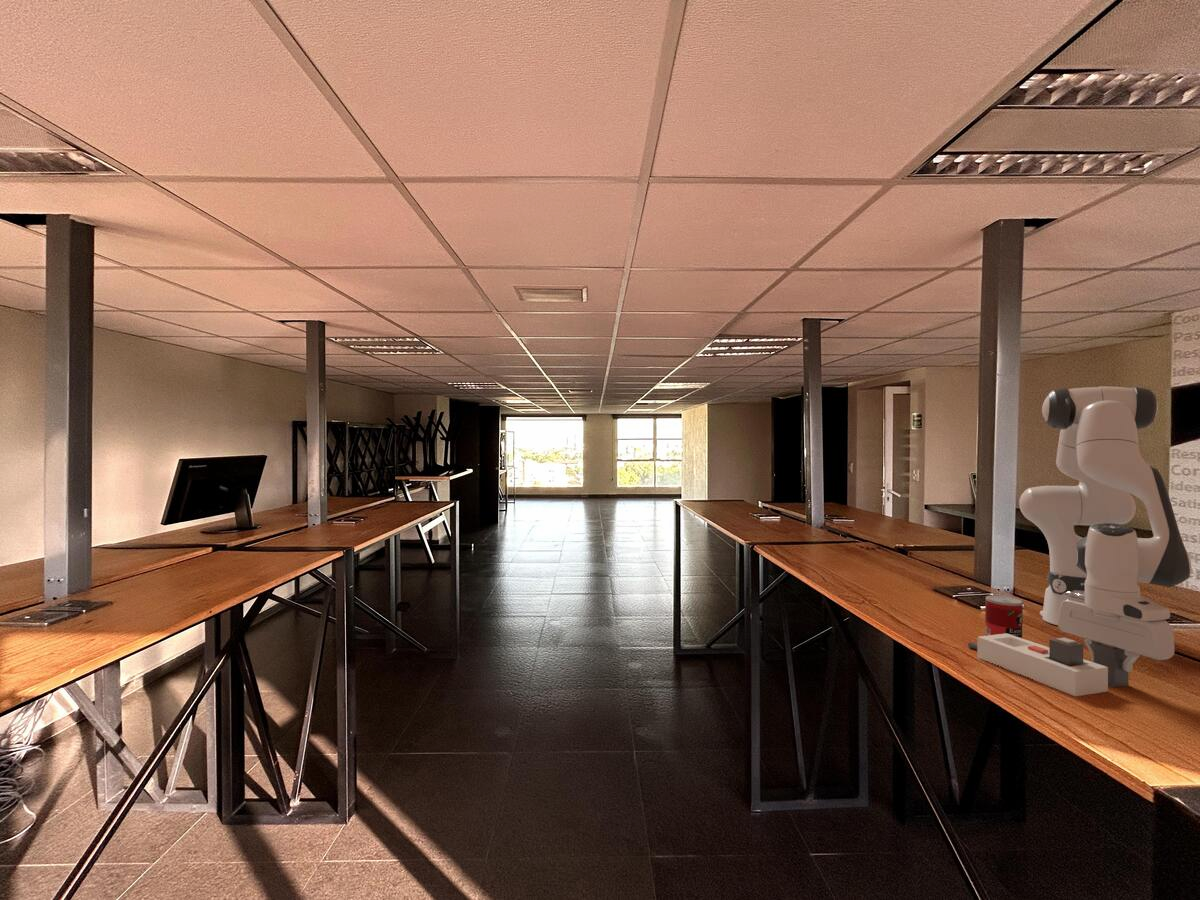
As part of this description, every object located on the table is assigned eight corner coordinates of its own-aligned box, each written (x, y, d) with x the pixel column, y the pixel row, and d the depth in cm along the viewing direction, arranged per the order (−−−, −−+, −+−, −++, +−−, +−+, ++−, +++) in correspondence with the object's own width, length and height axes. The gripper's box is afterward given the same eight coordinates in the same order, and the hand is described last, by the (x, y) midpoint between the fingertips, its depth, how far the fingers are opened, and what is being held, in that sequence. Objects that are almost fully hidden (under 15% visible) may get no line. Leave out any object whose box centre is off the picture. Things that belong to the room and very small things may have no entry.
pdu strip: (984, 645, 145) (984, 608, 145) (1107, 691, 118) (1108, 645, 118) (955, 648, 143) (955, 611, 143) (1075, 696, 116) (1075, 650, 116)
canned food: (1012, 648, 143) (1012, 604, 143) (978, 639, 150) (978, 597, 150) (1029, 644, 146) (1029, 601, 146) (995, 634, 154) (995, 593, 153)
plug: (1107, 678, 125) (1107, 639, 125) (1128, 685, 121) (1128, 645, 121) (1093, 680, 124) (1094, 641, 124) (1114, 687, 120) (1114, 647, 120)
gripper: (1050, 590, 132) (1050, 650, 132) (1157, 615, 112) (1157, 686, 112) (1071, 588, 133) (1070, 647, 134) (1180, 613, 114) (1179, 682, 114)
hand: (1111, 665), depth 123 cm, fingers closed on plug, 4 cm apart
